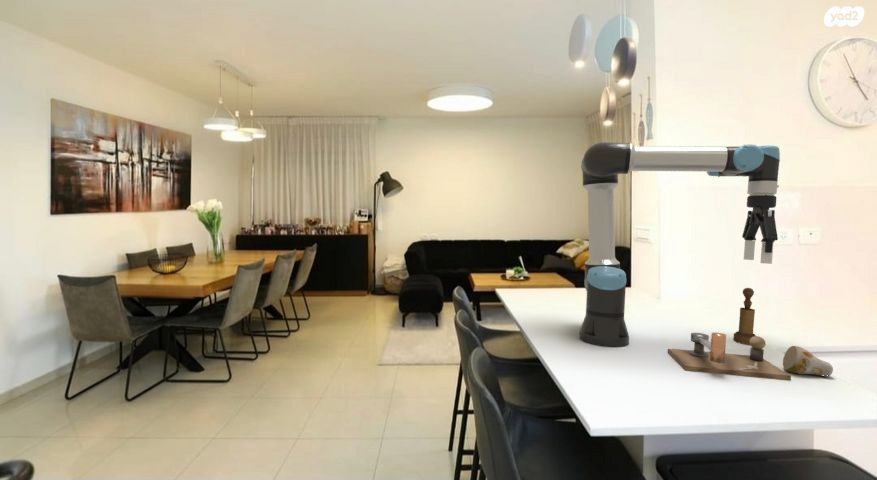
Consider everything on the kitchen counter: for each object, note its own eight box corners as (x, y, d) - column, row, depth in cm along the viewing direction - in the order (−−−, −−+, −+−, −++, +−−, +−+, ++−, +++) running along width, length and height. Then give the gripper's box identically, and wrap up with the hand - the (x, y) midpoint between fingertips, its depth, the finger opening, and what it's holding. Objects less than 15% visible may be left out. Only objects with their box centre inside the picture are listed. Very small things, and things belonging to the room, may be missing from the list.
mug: (842, 383, 109) (824, 348, 108) (796, 391, 114) (779, 358, 113) (831, 367, 115) (814, 334, 115) (788, 376, 120) (772, 344, 120)
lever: (688, 343, 127) (689, 320, 126) (704, 345, 126) (706, 321, 125) (710, 362, 110) (711, 335, 110) (729, 363, 109) (731, 336, 109)
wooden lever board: (685, 370, 114) (686, 341, 114) (667, 352, 130) (669, 326, 129) (790, 380, 109) (792, 349, 108) (759, 360, 124) (760, 333, 124)
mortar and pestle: (761, 345, 140) (765, 290, 139) (739, 344, 141) (742, 289, 140) (751, 340, 146) (754, 287, 145) (729, 338, 148) (732, 286, 147)
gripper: (795, 193, 126) (789, 266, 127) (759, 197, 149) (754, 259, 151) (764, 192, 128) (759, 264, 129) (734, 197, 152) (729, 257, 153)
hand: (756, 261), depth 140 cm, fingers open, 13 cm apart
